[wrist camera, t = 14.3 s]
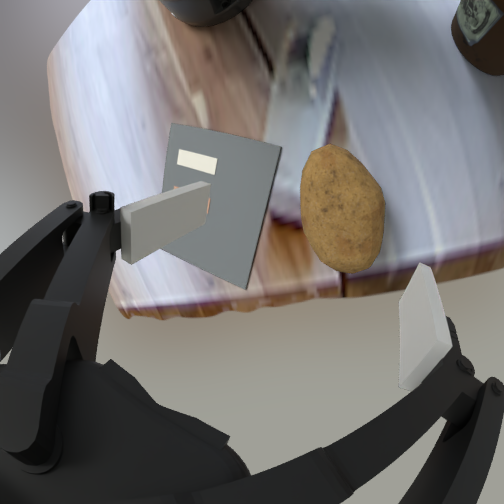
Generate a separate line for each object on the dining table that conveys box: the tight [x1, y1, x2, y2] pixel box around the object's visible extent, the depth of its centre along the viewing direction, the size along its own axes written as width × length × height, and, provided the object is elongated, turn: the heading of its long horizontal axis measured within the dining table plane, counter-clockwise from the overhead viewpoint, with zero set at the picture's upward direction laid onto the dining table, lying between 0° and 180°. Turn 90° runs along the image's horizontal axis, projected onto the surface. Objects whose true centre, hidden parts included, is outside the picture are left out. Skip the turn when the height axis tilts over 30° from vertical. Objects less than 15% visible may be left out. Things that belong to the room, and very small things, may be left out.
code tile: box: [160, 123, 281, 289], centre depth 41 cm, size 22×18×1 cm
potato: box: [300, 144, 385, 274], centre depth 29 cm, size 10×14×8 cm
